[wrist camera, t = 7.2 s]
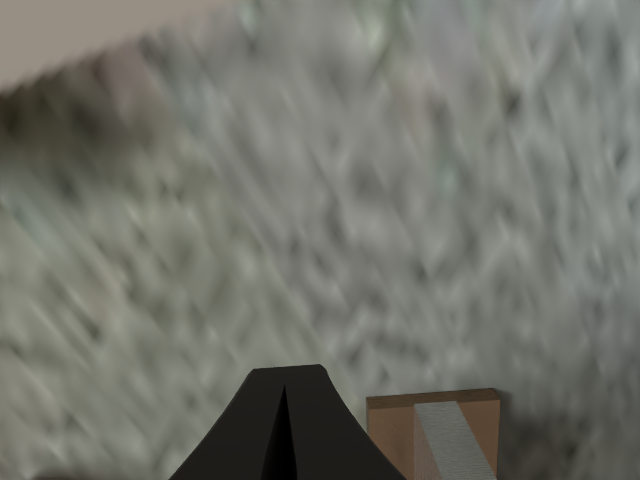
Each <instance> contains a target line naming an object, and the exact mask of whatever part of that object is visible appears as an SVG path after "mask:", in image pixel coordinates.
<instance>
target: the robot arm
mask: <svg viewBox="0 0 640 480" xmlns="http://www.w3.org/2000/svg"><path fill="white" fill-rule="evenodd" d="M169 480H407V479H406V478H405V477H404V476H403V475H402V474H401V473H400V472H399V471H398V469H397V468H396V467H395V466H394V465H393V464H392V463H391V462H390V461H389V460H388V459H387V457H386V456H385V455H384V454H383V453H382V452H381V451H380V449H379V448H378V447H377V446H376V445H375V444H374V442H373V441H372V440H371V439H370V437H369V436H368V435H367V434H366V432H365V431H364V430H363V429H362V427H361V426H360V424H359V423H358V422H357V420H356V419H355V418H354V416H353V415H352V414H351V412H350V411H349V409H348V408H347V407H346V405H345V404H344V402H343V400H342V399H341V397H340V396H339V394H338V392H337V391H336V389H335V387H334V386H333V384H332V382H331V380H330V378H329V376H328V373H327V370H326V369H325V368H324V367H323V366H322V365H320V364H316V365H302V366H288V367H274V368H260V369H253V370H252V371H251V372H250V373H249V374H248V375H247V377H246V379H245V380H244V382H243V384H242V385H241V387H240V388H239V390H238V391H237V393H236V394H235V396H234V397H233V399H232V400H231V402H230V403H229V405H228V406H227V408H226V409H225V411H224V412H223V413H222V415H221V416H220V417H219V419H218V420H217V421H216V423H215V424H214V425H213V427H212V428H211V429H210V431H209V432H208V433H207V435H206V436H205V437H204V439H203V440H202V441H201V442H200V444H199V445H198V446H197V447H196V448H195V449H194V451H193V452H192V453H191V454H190V455H189V457H188V458H187V459H186V460H185V461H184V462H183V464H182V465H181V466H180V467H179V468H178V469H177V471H176V472H175V473H174V474H173V475H172V476H171V477H170V479H169Z"/></svg>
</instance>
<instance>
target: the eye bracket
mask: <svg viewBox="0 0 640 480" xmlns="http://www.w3.org/2000/svg"><path fill="white" fill-rule="evenodd" d="M366 414H367V435H368V436H369V437H370V439H371V440H372V441H373V442H374V444H375V445H376V446H377V447H378V448H379V449H380V451H381V452H382V453H383V454H384V455H385V456H386V457H387V459H388V460H389V461H390V462H391V463H392V464H393V465H394V466H395V467H396V468H397V469H398V471H399V472H400V473H401V474H402V475H403V476H404V477H405V478H406V479H407V480H497V479H496V474H497V456H498V437H499V418H500V398H499V397H498V395H497V394H496V392H495V391H494V389H493V388H488V389H475V390H461V391H448V392H434V393H421V394H407V395H394V396H380V397H366Z"/></svg>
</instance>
